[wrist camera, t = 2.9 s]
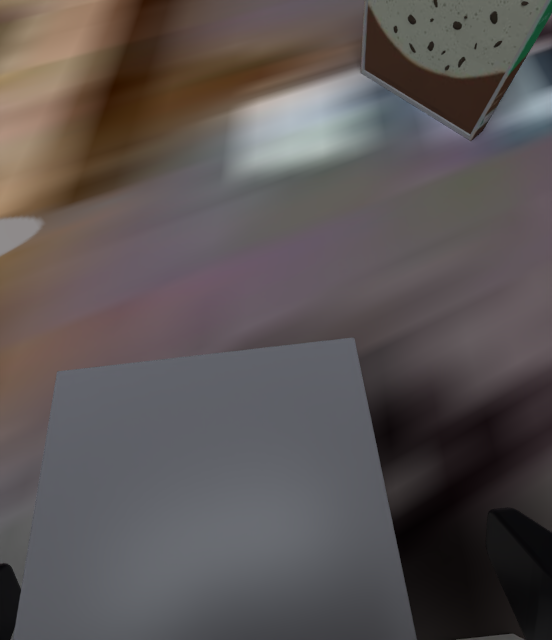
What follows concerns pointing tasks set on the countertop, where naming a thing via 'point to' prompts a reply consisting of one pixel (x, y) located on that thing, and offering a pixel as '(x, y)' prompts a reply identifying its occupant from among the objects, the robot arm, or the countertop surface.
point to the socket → (496, 637)
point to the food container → (450, 53)
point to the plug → (214, 504)
